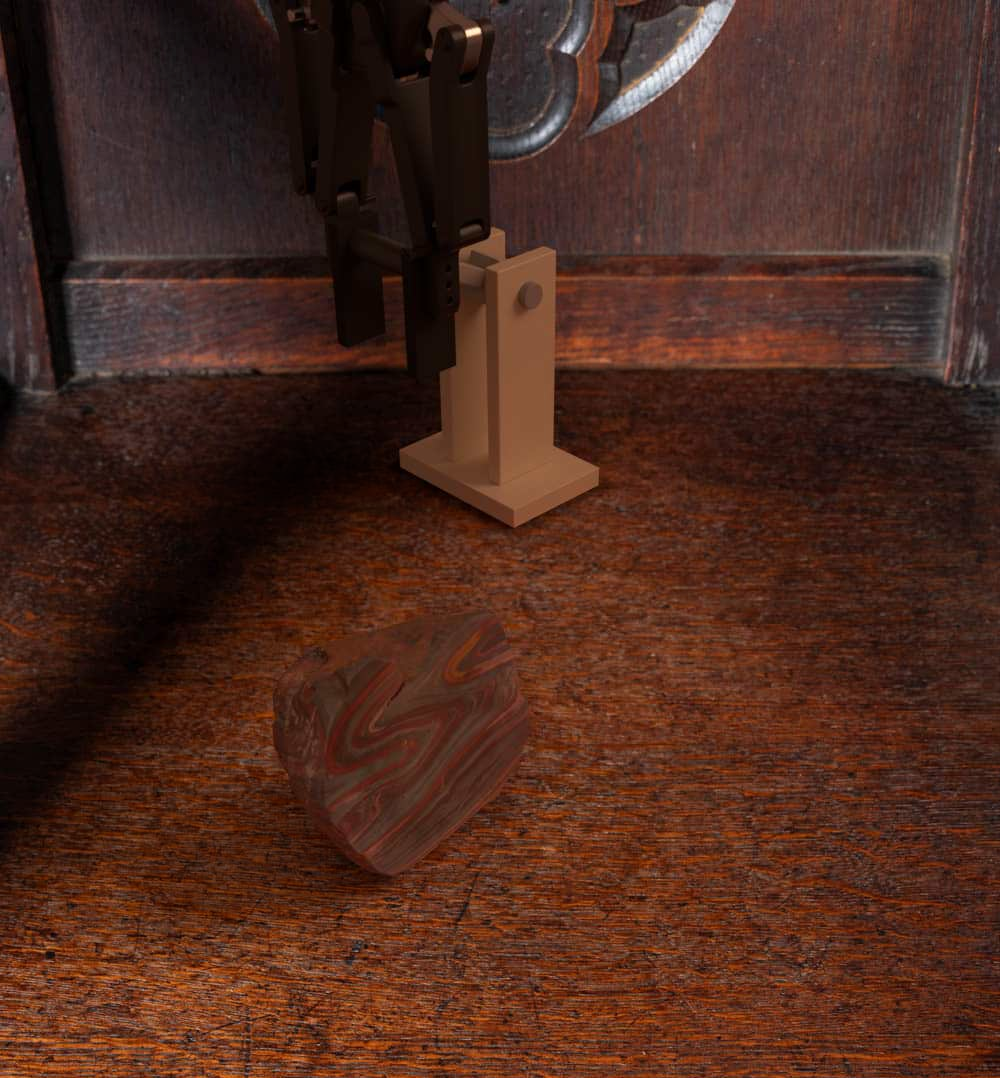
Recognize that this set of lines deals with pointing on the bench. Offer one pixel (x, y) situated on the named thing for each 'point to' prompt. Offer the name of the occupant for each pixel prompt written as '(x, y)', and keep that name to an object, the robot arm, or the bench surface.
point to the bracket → (503, 397)
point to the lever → (389, 258)
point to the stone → (401, 733)
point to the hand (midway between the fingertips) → (396, 353)
